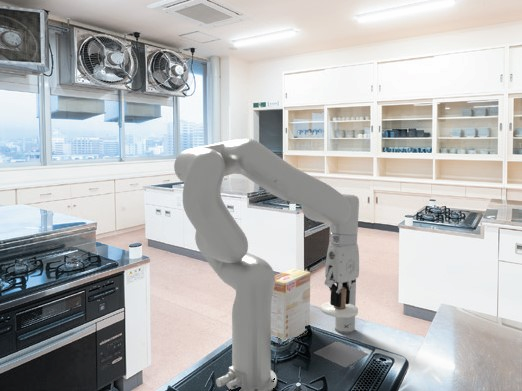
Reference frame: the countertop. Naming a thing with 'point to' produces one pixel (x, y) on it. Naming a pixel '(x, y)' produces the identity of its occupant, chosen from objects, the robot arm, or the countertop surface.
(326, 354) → the mat
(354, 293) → the travel mug
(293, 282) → the coffeecake box
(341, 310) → the lid
